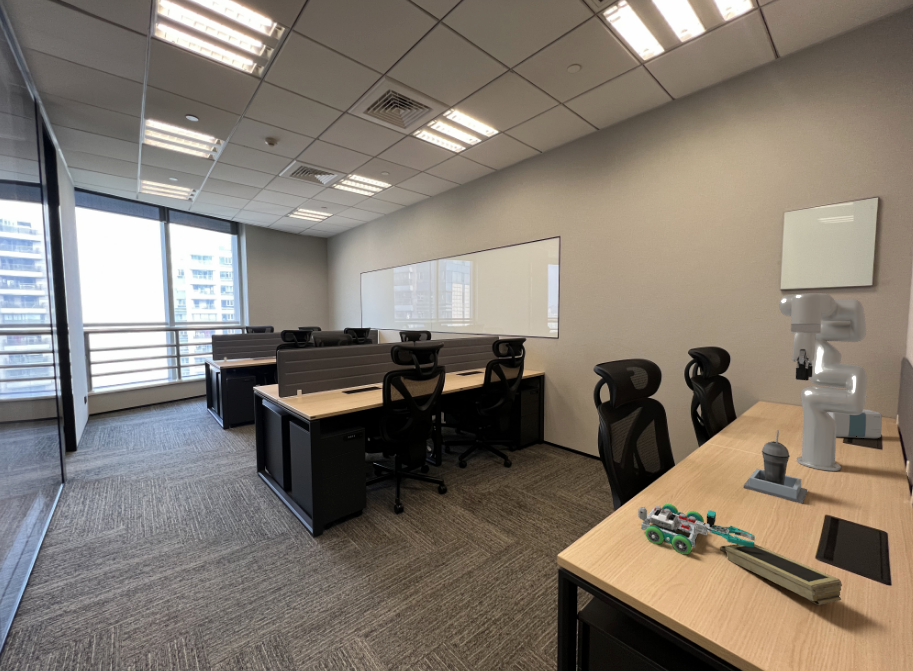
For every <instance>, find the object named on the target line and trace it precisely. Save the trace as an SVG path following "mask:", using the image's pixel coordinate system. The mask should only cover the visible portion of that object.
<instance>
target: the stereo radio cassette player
mask: <svg viewBox="0 0 913 671" xmlns="http://www.w3.org/2000/svg"><path fill="white" fill-rule="evenodd" d="M865 398H868V396H867V395H866V396H865ZM827 413H828V414H829V415H830V416H831V417H832V418H833V419H834V421H835V422H836V438H837V437H838V438H857V439H861V438H862V439H863V438H864V439H875V440H876V439H878V438H879V439H880V438H881V437H882V427H883V426H882V425H883V417H882V416H883V415H882V413H881V412H878V411H874V410H870V409H865V408H864V410H863V412H862V413H861V414H859V415H848V414H841V413H833V412H827ZM856 436H857V437H856Z"/></svg>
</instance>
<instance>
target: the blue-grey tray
mask: <svg viewBox="0 0 913 671" xmlns="http://www.w3.org/2000/svg"><path fill="white" fill-rule="evenodd" d="M743 488H744V489H747V490H751V491H754V492H757V493H762V494H765V495H769V496H772V497H776V498H779V499H783V500H787V501H791V502H795V503H799V504H802V505H803V504H804V501H805V499H806V496H807V494H808V489H807V488H804V487H802V478H799V477H795V476H791V475H790V476H789V475H786V474H785V481H784V485H780V484H776V483H772V482H768V481H765V471H764V469H760V468H756V469H755V471H754V472H753V473H752V474H751V475H750V477H748V479H747V481H746V482H745V483H744V484H743Z"/></svg>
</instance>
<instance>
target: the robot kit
mask: <svg viewBox="0 0 913 671" xmlns="http://www.w3.org/2000/svg"><path fill="white" fill-rule="evenodd" d="M637 514H638V515H637V516H638V518H639V519H640V520H642V522H641V525H640V526H641V527H640V529H641V530H643V531H645V532H644V533H645V537H646V538H647V541H648V542H650V543H652V544H655V545H660V544H662V543H663V542H664V541H665V542H666V543H668V544H672V545H671V546H672V547H673V548H674V550H675V551H676V552H678V553H680V554H682V555H688V554H690V553H691V551H692V548H695V547H696V541H695V540H696V539H697V536H698V534H701V535H704V536H708V533H710V534H714V535H716V536H719V537H721V538H723V539H725V540H726V541H727V543H729V544H733V545H735V544H738V545H743V546H748V547H754V544H755V540H756V539H755V538H756V537H755V534H752V533H750V532H748V531H746V530H743V529H740V528H738V527H736V526H733V525H730V526H721V525H719V524H715V523H716V520H717V518H716V516H717V512H716V511H714V510H708V511H707V513H706V522H705V520H704V517H703V515H701V513H699V512H698V511H695V510H690V511H688V512H687V513H686V514H685V513H683V512H681V511H679V510H678V509H677V507H676V506H675V505H673V504H672V503H665V504H663V505H662V507H661V506H659V505H655V507H652V510H651V511H650V512H649V513H648V509H647V508H646V506H641V507H639V508H638V512H637ZM650 523H651V524H650ZM652 524H654V525H652ZM660 527H662V528H660ZM678 529H679V530H681V531H682V532H685V533H687V534H688V533H690V535H689V537H687V536H686V535H683V534H679V533H678V534H677V533H676V531H678ZM731 534H734V536H733V535H731ZM740 537H743V538H740ZM744 538H747V540H746V539H744ZM748 539H749V540H748Z"/></svg>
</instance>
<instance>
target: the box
mask: <svg viewBox="0 0 913 671" xmlns="http://www.w3.org/2000/svg"><path fill="white" fill-rule="evenodd" d="M719 550H720V551H722V552H726V556H727V560H729V562H732V563H734V564H736V565H738V566H740V567H742V568H744V569H746V570H748V571H751V572H753V573H754V574H757V575H759V576H760V577H763V578H765V579H767V580H769V581H771V582H773V583H775V584H776V585H779V586H780V587H782V588H785V589H786V590H789V591H791V592H793V593H795V594H797V595H799V596H801V597H803V598H805V599H807V600H808V601H810V602H812V604H815V605H817V606H821V605H822V606H823V605H825V604H830V603H834V602H838V601H839V602H840V601H841V600H842V598H841V591H842V587H843V584H842V581H841V580H840V578H837V577H835V576H832V575H831V574H828V573H826V572H823V571H821V570H818V569H816V568H813V567H810V566H809V565H805V564H803V563H801V562H799V561H797V560H794V559H791V558H790V557H786V556H784V555H782V554H779V553H777V552H775V551H772V550H770V549H767V548H765V547H763V546H760V545H757V544H755V543H754V547H748V546H743V545H738V544H729V545H720V547H719Z"/></svg>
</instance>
